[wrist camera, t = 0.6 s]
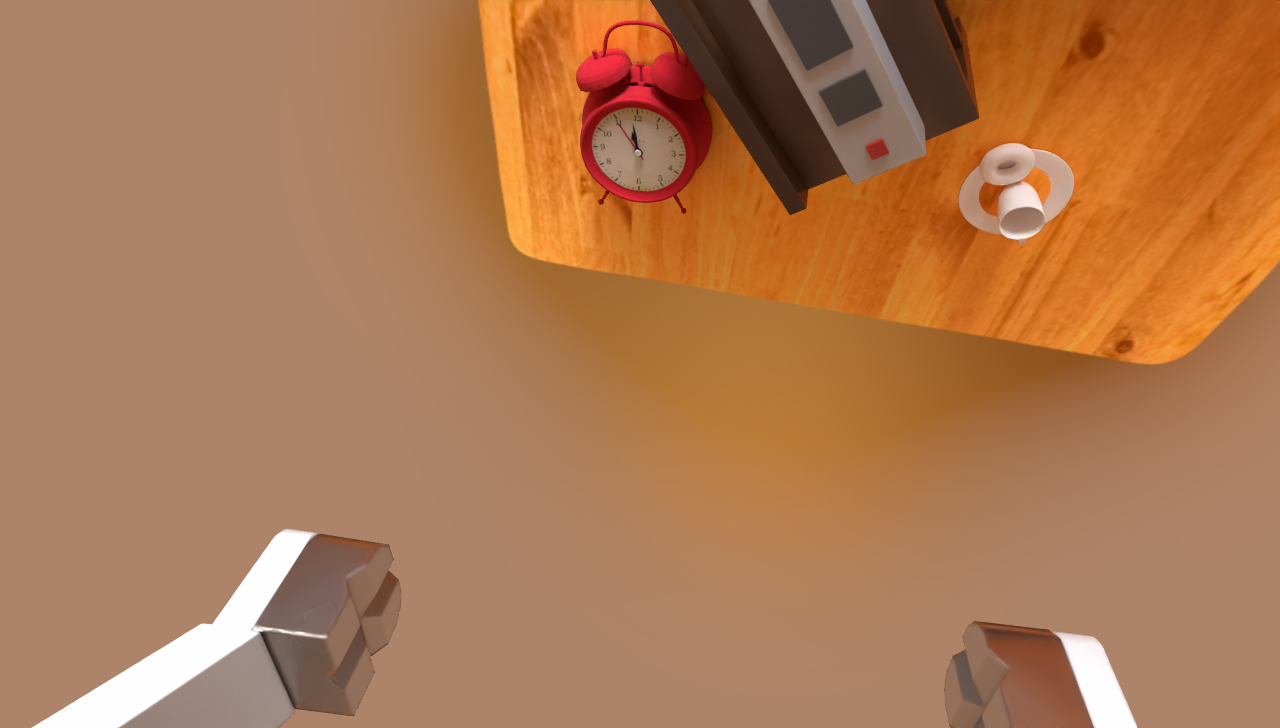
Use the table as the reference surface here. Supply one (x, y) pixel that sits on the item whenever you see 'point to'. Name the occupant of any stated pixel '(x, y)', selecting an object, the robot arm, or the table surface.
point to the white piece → (1016, 191)
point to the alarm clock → (642, 122)
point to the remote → (847, 81)
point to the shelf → (774, 106)
